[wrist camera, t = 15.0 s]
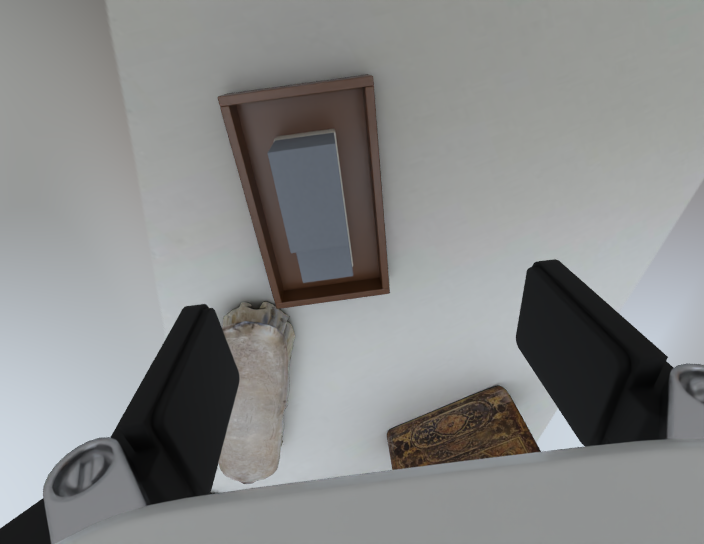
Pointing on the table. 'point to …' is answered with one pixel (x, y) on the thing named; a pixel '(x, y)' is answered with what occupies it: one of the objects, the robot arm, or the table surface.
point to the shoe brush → (257, 391)
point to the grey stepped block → (312, 203)
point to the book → (462, 432)
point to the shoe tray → (356, 172)
